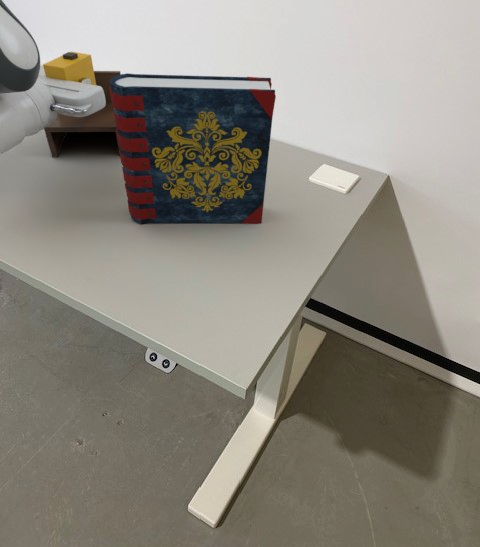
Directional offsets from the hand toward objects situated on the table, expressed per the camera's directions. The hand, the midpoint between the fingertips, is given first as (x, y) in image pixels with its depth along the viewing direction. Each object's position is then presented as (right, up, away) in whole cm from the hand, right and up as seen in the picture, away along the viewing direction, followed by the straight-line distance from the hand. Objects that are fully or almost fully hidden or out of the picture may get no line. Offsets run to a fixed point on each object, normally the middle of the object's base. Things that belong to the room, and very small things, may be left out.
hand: (74, 79), depth 84 cm
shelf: (-2, -7, +17) cm, 18 cm away
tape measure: (0, -4, +3) cm, 5 cm away
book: (+25, -28, -3) cm, 37 cm away
